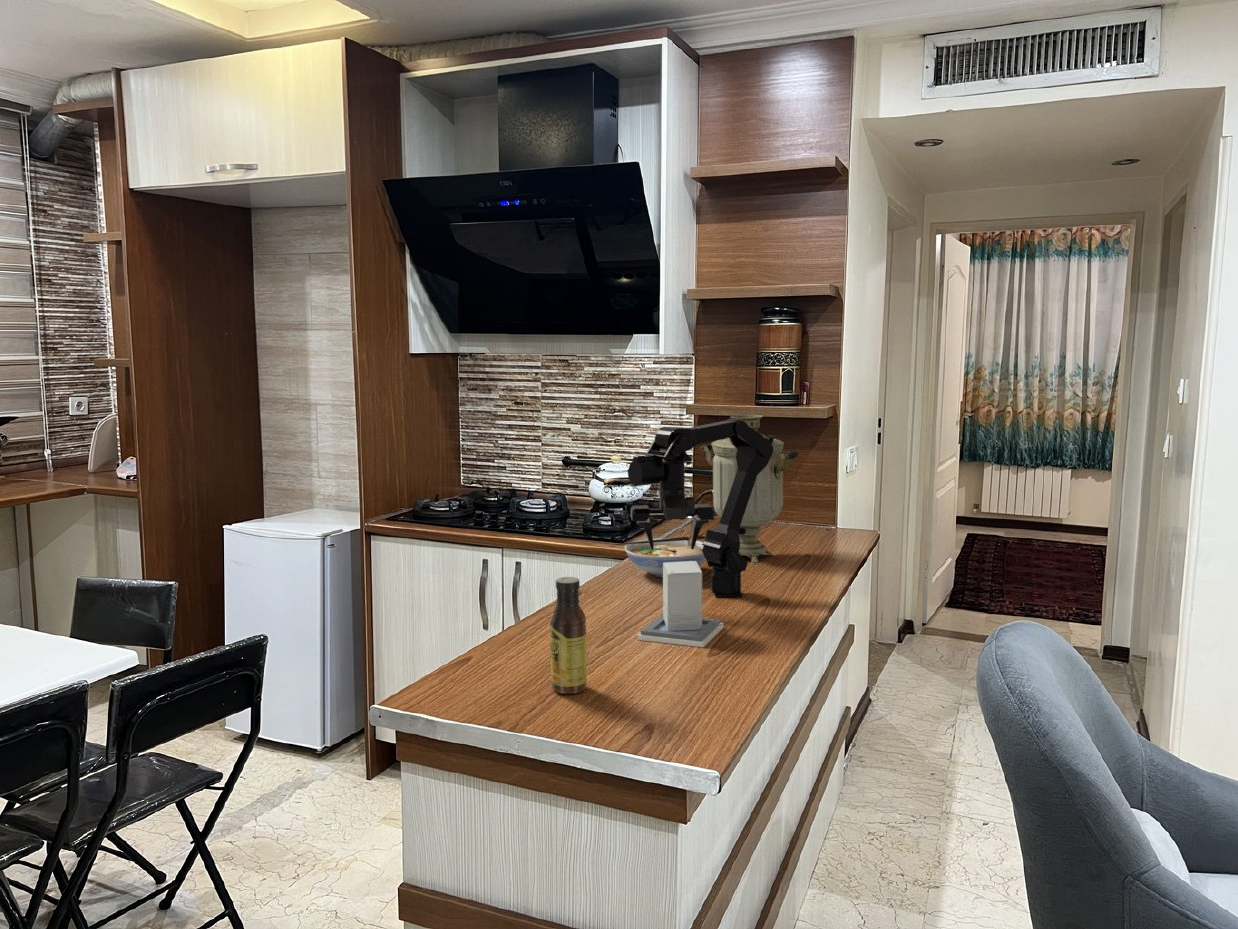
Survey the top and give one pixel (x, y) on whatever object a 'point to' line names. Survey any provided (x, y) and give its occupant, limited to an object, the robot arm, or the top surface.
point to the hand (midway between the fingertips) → (672, 549)
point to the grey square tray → (681, 633)
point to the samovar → (765, 491)
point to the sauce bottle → (568, 639)
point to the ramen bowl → (663, 553)
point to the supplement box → (682, 595)
